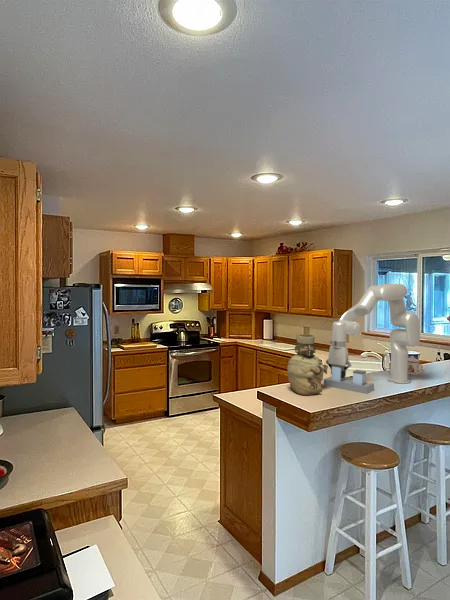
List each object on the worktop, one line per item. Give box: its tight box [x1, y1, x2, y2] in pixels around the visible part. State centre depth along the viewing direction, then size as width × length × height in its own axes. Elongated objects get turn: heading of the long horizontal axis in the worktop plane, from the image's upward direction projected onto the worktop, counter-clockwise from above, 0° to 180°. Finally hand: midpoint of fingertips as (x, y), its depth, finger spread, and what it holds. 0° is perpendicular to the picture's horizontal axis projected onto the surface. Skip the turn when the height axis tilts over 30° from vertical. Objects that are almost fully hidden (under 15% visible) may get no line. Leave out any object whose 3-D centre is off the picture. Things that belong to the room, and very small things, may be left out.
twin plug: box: [352, 369, 367, 385], centre depth 211 cm, size 5×5×10 cm
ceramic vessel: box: [286, 333, 329, 396], centre depth 211 cm, size 19×21×30 cm
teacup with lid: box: [407, 355, 424, 376], centre depth 257 cm, size 12×9×12 cm
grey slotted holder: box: [323, 376, 375, 395], centre depth 215 cm, size 10×24×5 cm, turn 49°
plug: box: [331, 365, 344, 381], centre depth 218 cm, size 5×5×10 cm
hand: (338, 376), depth 218 cm, fingers closed on plug, 5 cm apart
